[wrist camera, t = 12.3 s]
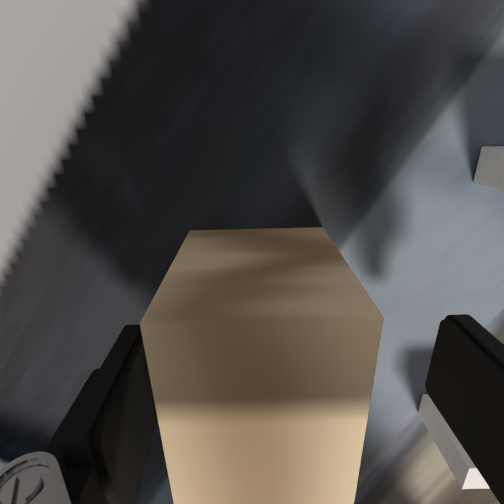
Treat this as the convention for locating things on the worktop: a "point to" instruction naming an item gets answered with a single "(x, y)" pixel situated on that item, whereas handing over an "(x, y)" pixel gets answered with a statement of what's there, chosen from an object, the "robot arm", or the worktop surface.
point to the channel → (493, 175)
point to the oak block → (261, 368)
